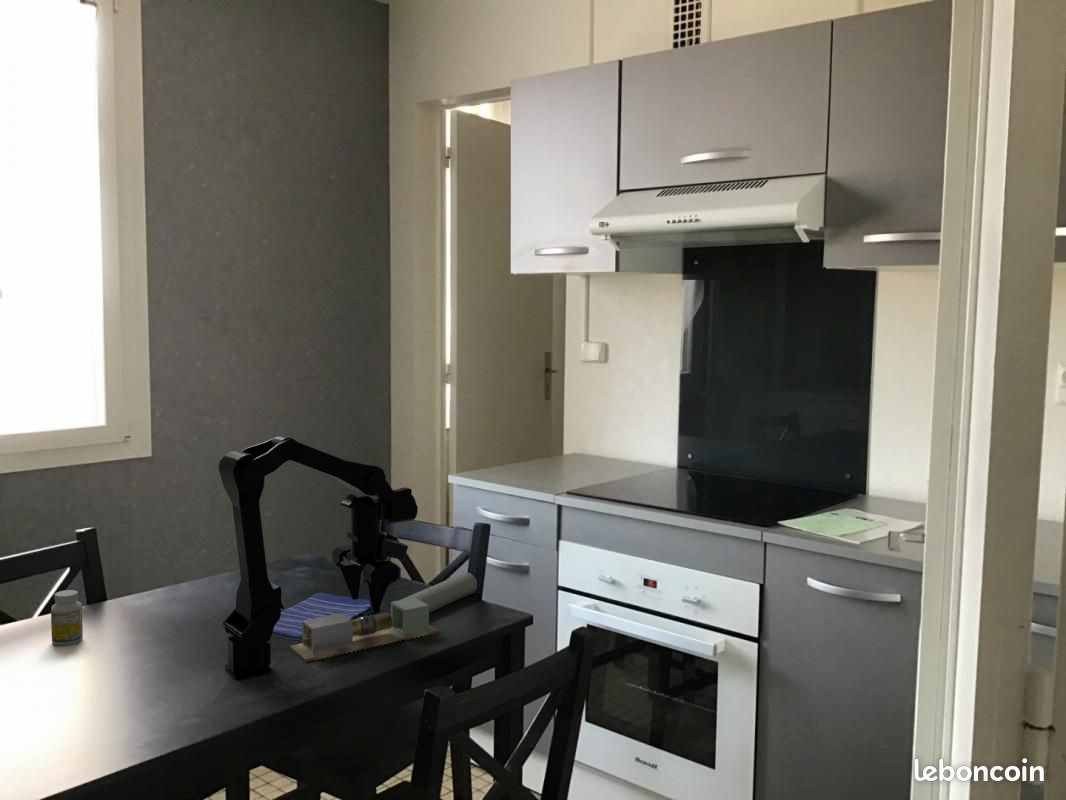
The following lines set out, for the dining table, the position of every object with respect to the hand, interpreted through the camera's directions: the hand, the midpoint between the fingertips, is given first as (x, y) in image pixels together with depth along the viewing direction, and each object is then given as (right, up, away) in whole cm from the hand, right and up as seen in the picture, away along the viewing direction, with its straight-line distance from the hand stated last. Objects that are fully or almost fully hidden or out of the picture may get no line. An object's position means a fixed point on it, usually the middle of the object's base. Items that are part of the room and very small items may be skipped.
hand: (365, 605), depth 176 cm
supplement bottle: (-57, -7, -3) cm, 58 cm away
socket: (+8, -7, +7) cm, 12 cm away
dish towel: (-13, -7, +13) cm, 19 cm away
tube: (+11, -6, +22) cm, 25 cm away
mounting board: (0, -7, +1) cm, 7 cm away
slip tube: (-2, -6, -1) cm, 6 cm away
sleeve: (-7, -7, -4) cm, 11 cm away
